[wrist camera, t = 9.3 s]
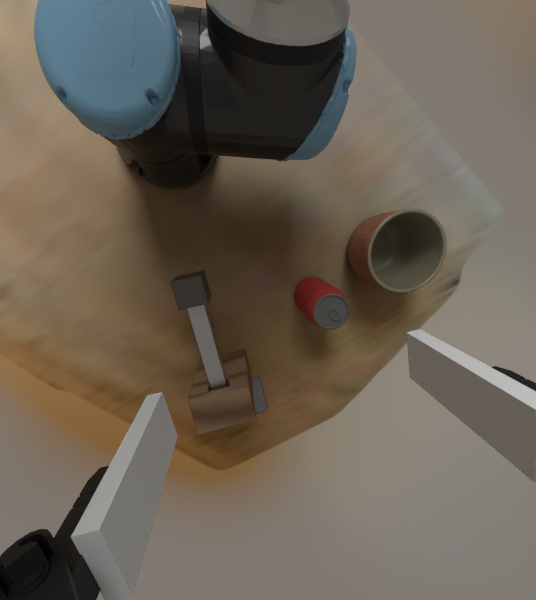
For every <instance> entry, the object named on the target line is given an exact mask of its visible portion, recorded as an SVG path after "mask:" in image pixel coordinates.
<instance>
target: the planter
mask: <svg viewBox="0 0 536 600" xmlns="http://www.w3.org/2000/svg"><path fill="white" fill-rule="evenodd" d="M347 254H348V259H349V262H350V265H351V266H352V268H353V269H354V271H355V272H356V273H357V274H358V275H360V276H361V277H362V278H364V279H366V280H367V281H369V282H371V283H373V284H375V285H378V286H380V287H382V288H384V289H386V290H388V291H391V292H396V293H407V292H412V291H415V290H417V289H419V288H421V287H423V286H424V285H426V284H427V283H428V282H430V281H431V280H432V279H433V278H434V277H435V275H436V274H437V273H438V271H439V269H440V268H441V266H442V264H443V261H444V258H445V254H446V236H445V233H444V230H443V228H442V226H441V224H440V222H439V221H438V220H437V219H436V218H435V217H434V216H433V215H431V214H430V213H428V212H426V211H424V210H420V209H404V210H399V211H393V212H388V213H383V214H379V215H376V216H373V217H371V218H368V219H367V220H365V221H363V222H362V223H361V224H360V225H358V226H357V228H356V229H355V230H354V231H353V233H352V235H351V237H350V239H349V242H348V248H347Z"/></svg>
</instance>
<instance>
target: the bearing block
mask: <svg viewBox="0 0 536 600" xmlns="http://www.w3.org/2000/svg"><path fill="white" fill-rule="evenodd" d="M221 357H222V361H223V365H224V368H225V372H226V376H227V379H228V383H229V386H228V387H224V388H220V389H216V390H211V387H210V384H209V380H208V377H207V374H206V370H205V367H204V363H203V360H200V361H199V363H198V367H197V370H196V374H195V377H194V381H193V385H192V388H191V392H190V395H189V399H188V403H189V406H190V409H191V413H192V416H193V419H194V422H195V425H196V428H197V431H198V434H203V433H207V432H211V431H215V430H219V429H223V428H227V427H231V426H235V425H239V424H243V423H246V422H250V421H254V420H256V411H255V402H254V393H253V384H252V376H251V372H250V368H249V364H248V359H247V355H246V351H245V350H242V351H237V352H233V353H229V354H225V355H221Z"/></svg>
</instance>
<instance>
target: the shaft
mask: <svg viewBox="0 0 536 600" xmlns="http://www.w3.org/2000/svg"><path fill="white" fill-rule="evenodd" d="M171 286H172V289H173V292H174V295H175V299H176V302H177V305H178V308H179V310H183V309H187V310H188V313H189V316H190V320H191V323H192V326H193V330H194V333H195V336H196V340H197V343H198V347H199V350H200V353H201V357H202V360H203V363H204V367H205V370H206V374H207V377H208V380H209V384H210V387H211V390H216V389H220V388H224V387H228V386H229V383H228V379H227V376H226V372H225V368H224V365H223V361H222V357H221V354H220V350H219V347H218V343H217V339H216V336H215V332H214V328H213V325H212V321H211V317H210V314H209V310H208V307H207V304H208V303H209V300H210V298H211V292H210V289H209V285H208V281H207V277H206V274H205V270H203V271H199V272H194V273H190V274H185V275H180V276H178V277H176V278H175V279H174V280H172V281H171Z"/></svg>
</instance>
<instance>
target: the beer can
mask: <svg viewBox="0 0 536 600" xmlns="http://www.w3.org/2000/svg"><path fill="white" fill-rule="evenodd" d="M294 298H295V302H296V304H297V305H298V307H299V308H300V309H301V310H302V312H303V313H304V314H305V315H306V316H307V318H308V319H309V320H310V321H311V322H312V323H313V324H314V325H316V326H318V327H321V328H324V329H330V330H332V329H336V328H338V327H340V326H342V325H343V324H344V323H345V322H346V321H347V318H348V316H349V312H350V308H349V304H348V302H347V300H346V298H345V296H344V294H343V293H342V292H341V291H339V290H338V289H336V288H335V287H333V286H331V285H329V284H328V283H326V282H324V281H322V280H321V279H318V278H313V277H310V278H306V279H304V280H303V281H301V282H300V283H299V284H298V285H297V287H296V289H295V293H294Z"/></svg>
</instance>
